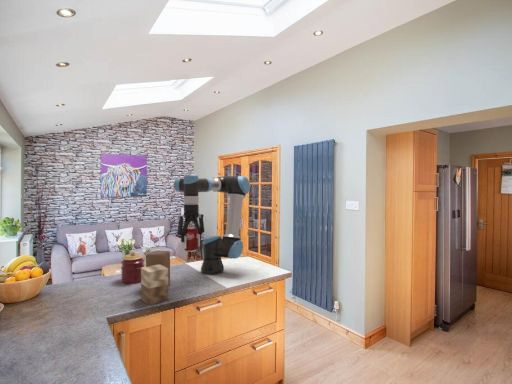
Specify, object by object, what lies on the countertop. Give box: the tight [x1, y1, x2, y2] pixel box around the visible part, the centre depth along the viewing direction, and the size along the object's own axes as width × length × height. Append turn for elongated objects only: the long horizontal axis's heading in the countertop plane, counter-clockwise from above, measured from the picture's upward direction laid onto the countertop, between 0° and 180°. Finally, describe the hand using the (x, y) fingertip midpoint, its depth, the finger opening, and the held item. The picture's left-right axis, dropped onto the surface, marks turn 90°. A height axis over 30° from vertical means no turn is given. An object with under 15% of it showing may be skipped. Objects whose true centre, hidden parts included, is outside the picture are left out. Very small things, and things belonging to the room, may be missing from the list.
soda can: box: [183, 226, 199, 253], centre depth 159 cm, size 7×7×12 cm
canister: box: [120, 251, 145, 285], centre depth 180 cm, size 13×13×18 cm
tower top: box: [140, 264, 168, 289], centre depth 152 cm, size 10×10×8 cm
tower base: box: [140, 283, 169, 306], centre depth 153 cm, size 10×10×8 cm
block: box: [145, 249, 171, 287], centre depth 169 cm, size 10×10×20 cm
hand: (191, 247), depth 159 cm, fingers closed on soda can, 7 cm apart
